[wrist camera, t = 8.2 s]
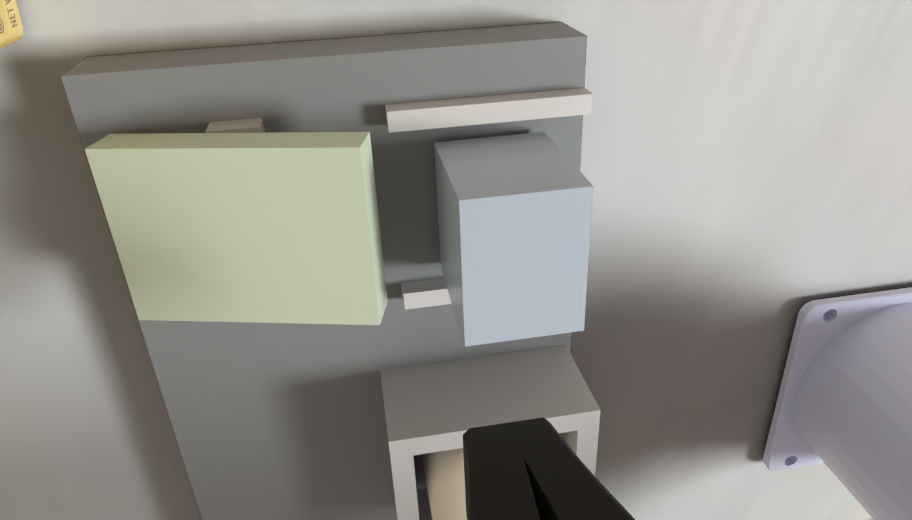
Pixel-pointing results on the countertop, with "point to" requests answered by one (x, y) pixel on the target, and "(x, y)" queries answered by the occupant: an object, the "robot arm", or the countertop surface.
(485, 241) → the block
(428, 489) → the button
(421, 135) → the panel
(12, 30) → the candy box
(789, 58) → the countertop surface
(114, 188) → the block
